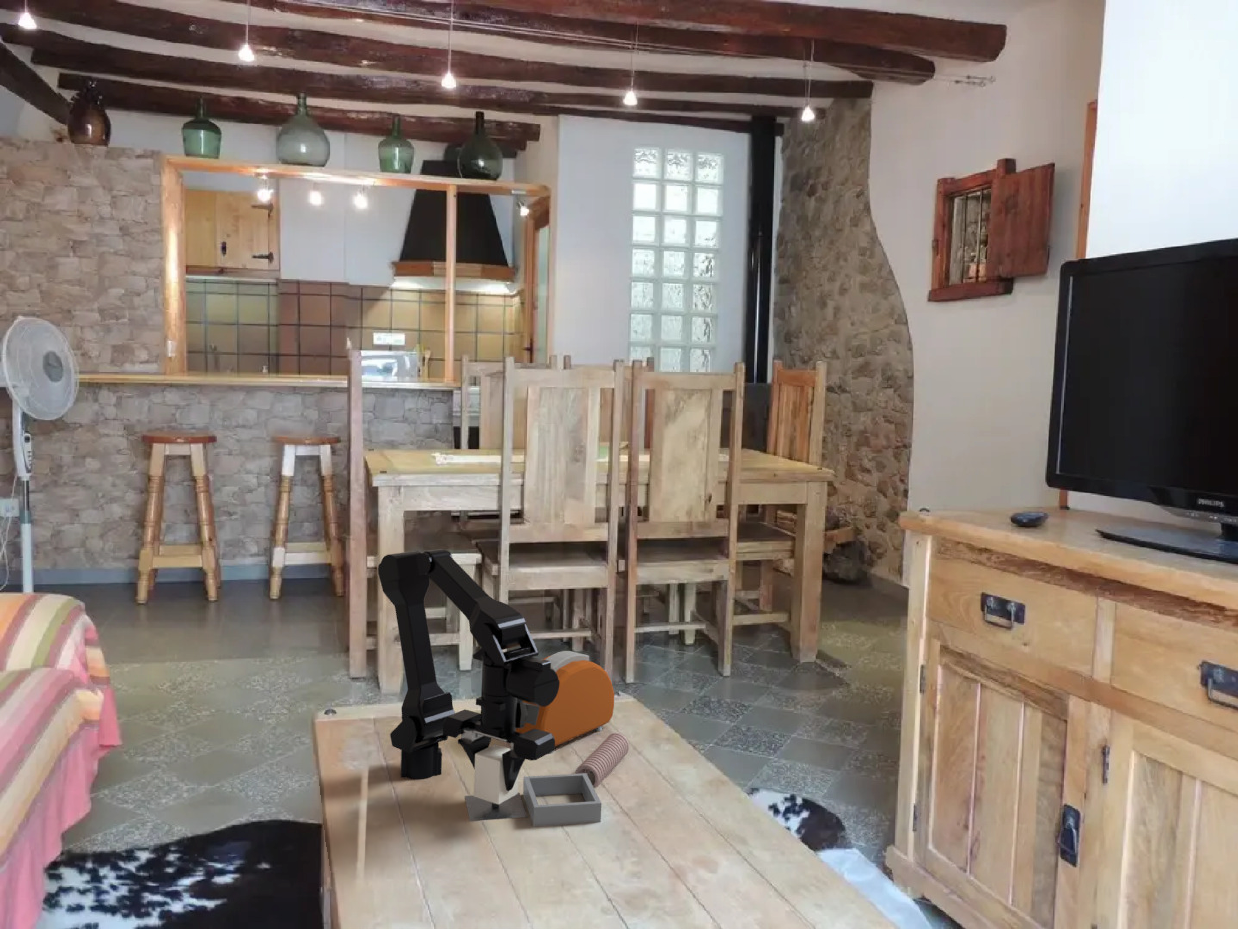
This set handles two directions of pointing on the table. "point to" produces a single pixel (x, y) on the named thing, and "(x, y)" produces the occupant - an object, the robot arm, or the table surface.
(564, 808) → the bin
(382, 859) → the table surface
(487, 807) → the stud plate
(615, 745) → the coil
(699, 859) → the table surface
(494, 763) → the cream rectangular block
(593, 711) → the orange grey rounded block
